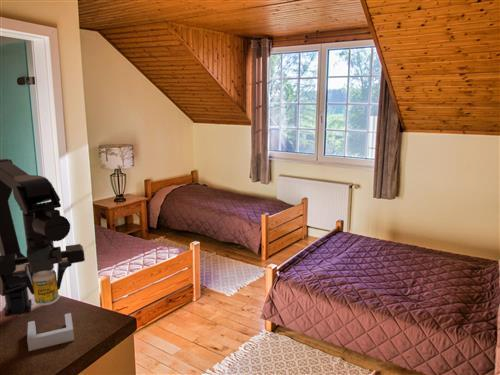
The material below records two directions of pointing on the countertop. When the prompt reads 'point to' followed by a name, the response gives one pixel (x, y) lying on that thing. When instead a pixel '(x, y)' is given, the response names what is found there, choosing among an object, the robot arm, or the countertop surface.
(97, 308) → the countertop surface
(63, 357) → the countertop surface
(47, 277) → the supplement bottle
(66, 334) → the notched board
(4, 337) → the countertop surface
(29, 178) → the robot arm
